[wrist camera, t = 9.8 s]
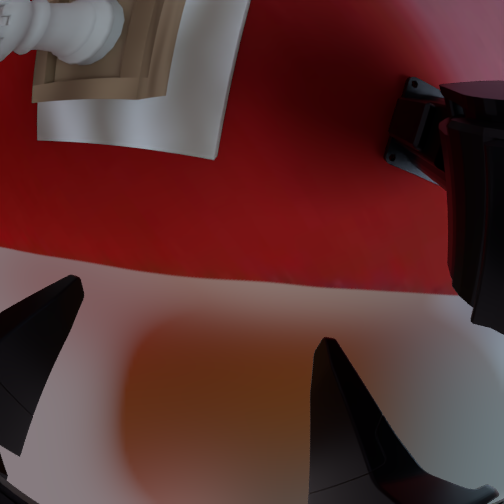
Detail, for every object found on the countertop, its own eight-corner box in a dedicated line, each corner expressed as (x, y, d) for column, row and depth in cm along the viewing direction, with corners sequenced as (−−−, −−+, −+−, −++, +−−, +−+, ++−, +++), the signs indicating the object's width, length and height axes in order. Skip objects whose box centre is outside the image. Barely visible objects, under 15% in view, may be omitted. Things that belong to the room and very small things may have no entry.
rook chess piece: (71, 12, 9) (-29, 8, 2) (131, -11, 8) (32, -44, 2) (68, 72, 11) (-38, 95, 5) (127, 56, 11) (14, 57, 4)
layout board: (265, -51, 9) (260, -86, 5) (217, 156, 18) (196, 179, 14) (71, -29, 8) (33, -38, 4) (44, 137, 17) (4, 155, 13)
